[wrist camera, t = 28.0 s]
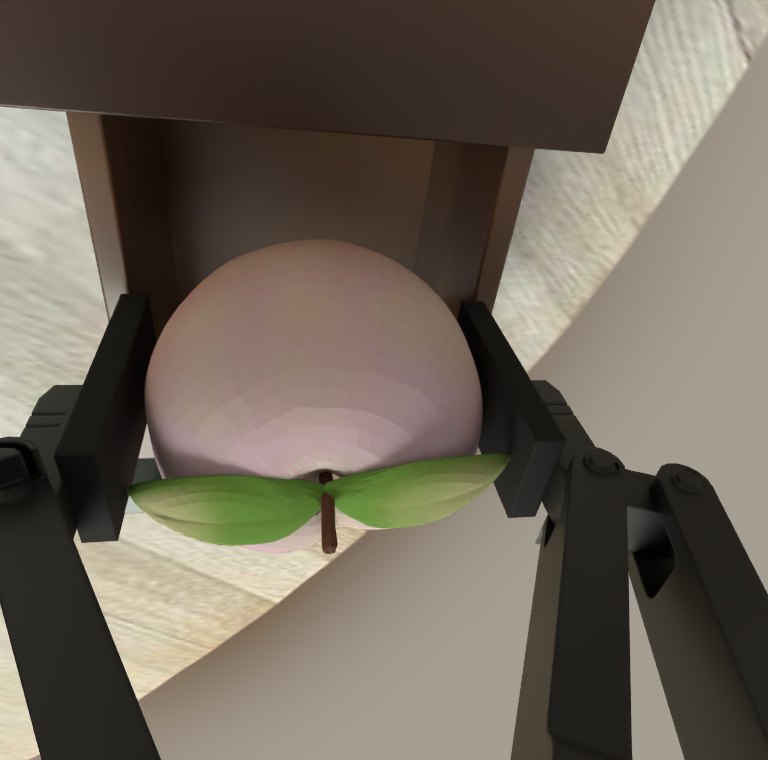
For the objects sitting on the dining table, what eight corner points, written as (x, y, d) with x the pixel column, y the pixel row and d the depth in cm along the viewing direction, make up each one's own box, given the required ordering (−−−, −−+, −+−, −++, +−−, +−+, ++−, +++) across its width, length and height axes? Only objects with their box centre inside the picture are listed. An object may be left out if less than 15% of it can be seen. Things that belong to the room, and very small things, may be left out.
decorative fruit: (423, 152, 17) (548, 330, 9) (449, 364, 22) (543, 594, 14) (118, 220, 17) (-16, 458, 9) (214, 418, 22) (181, 679, 14)
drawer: (407, 444, 34) (442, 572, 27) (169, 451, 32) (142, 596, 25) (488, 15, 21) (595, 52, 14) (94, -35, 19) (-9, -19, 12)
